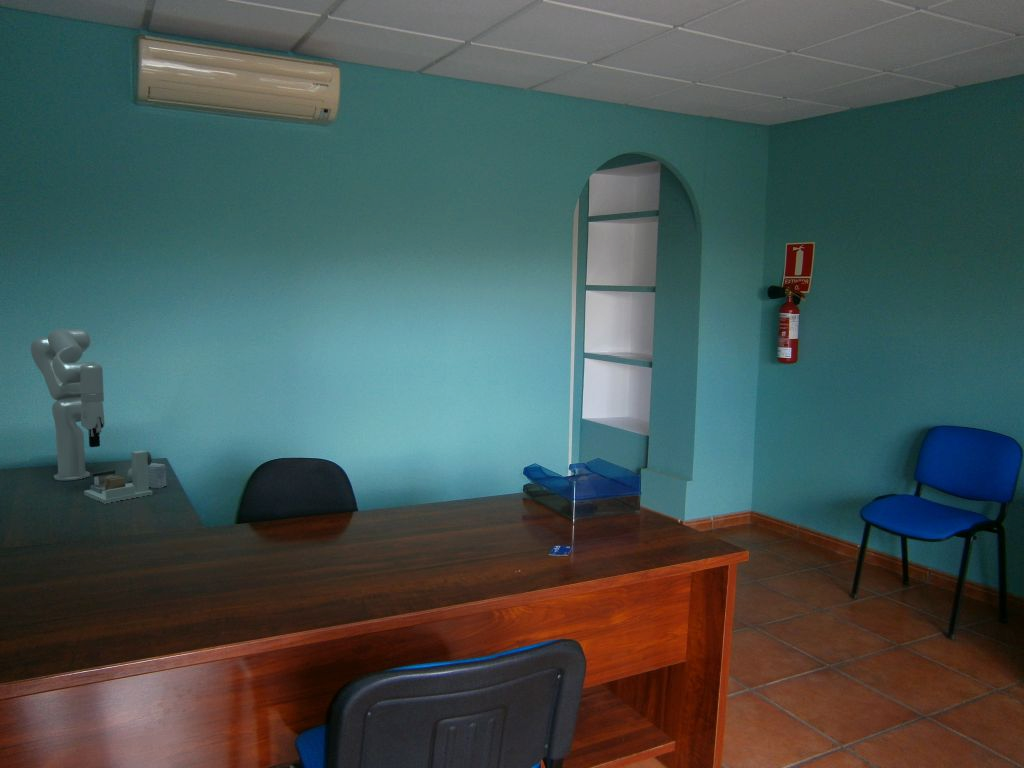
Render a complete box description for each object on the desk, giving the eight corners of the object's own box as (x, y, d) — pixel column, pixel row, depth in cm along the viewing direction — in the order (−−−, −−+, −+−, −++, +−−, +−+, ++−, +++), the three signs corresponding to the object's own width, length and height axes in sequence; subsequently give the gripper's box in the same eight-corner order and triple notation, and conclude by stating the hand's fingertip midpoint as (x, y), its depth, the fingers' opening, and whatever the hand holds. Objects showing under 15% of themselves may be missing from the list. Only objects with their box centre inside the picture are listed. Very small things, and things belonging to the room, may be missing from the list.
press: (84, 494, 290) (82, 451, 288) (133, 486, 303) (131, 445, 301) (104, 504, 279) (102, 459, 277) (154, 494, 292) (153, 452, 290)
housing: (105, 494, 286) (104, 477, 285) (119, 491, 290) (118, 474, 289) (111, 496, 283) (110, 479, 282) (125, 494, 286) (125, 477, 286)
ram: (90, 489, 291) (89, 472, 290) (112, 485, 297) (112, 469, 296) (94, 491, 288) (94, 474, 287) (117, 487, 294) (116, 471, 293)
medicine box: (166, 486, 304) (166, 464, 303) (158, 489, 300) (157, 466, 299) (150, 484, 307) (149, 462, 306) (141, 487, 302) (140, 464, 301)
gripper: (73, 396, 295) (75, 445, 297) (90, 400, 285) (92, 450, 287) (94, 394, 301) (96, 442, 303) (111, 398, 291) (113, 447, 293)
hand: (94, 446), depth 295 cm, fingers closed
